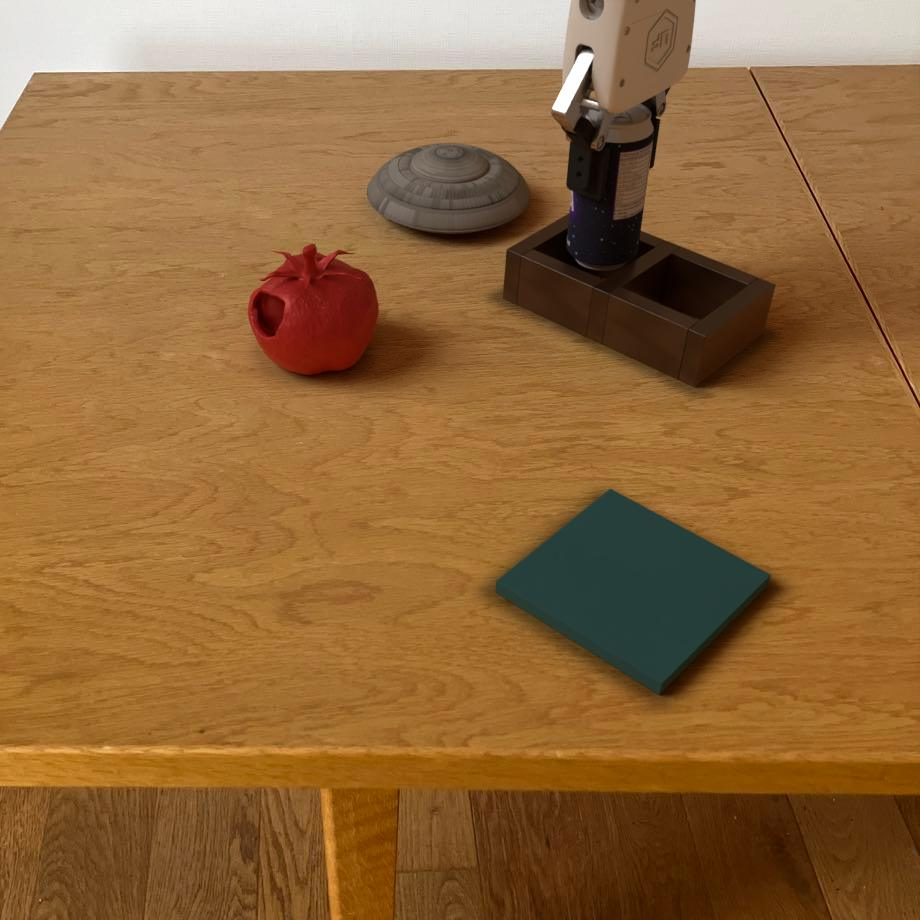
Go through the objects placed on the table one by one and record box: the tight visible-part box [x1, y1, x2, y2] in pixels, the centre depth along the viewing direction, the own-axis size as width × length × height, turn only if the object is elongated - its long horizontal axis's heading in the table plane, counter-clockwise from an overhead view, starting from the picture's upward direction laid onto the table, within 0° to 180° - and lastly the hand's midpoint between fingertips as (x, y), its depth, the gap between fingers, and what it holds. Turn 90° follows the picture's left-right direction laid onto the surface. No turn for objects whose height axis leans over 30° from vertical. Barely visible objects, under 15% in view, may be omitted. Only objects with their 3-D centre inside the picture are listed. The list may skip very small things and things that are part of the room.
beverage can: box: [566, 104, 654, 271], centre depth 92 cm, size 6×6×12 cm
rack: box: [502, 213, 776, 388], centre depth 95 cm, size 18×10×4 cm, turn 47°
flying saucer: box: [366, 142, 532, 235], centre depth 109 cm, size 15×15×6 cm
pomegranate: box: [247, 243, 380, 376], centre depth 90 cm, size 10×10×9 cm
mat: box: [494, 488, 772, 695], centre depth 74 cm, size 12×12×1 cm
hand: (610, 176), depth 92 cm, fingers closed on beverage can, 5 cm apart
